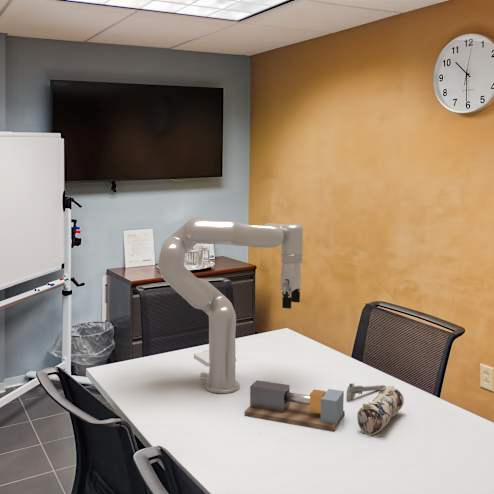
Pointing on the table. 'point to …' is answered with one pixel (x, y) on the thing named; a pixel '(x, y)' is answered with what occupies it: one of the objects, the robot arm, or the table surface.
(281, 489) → the table surface
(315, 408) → the tube
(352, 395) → the caliper
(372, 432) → the pencil case
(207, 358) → the mounting plate
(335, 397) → the socket
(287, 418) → the board
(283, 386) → the sleeve
